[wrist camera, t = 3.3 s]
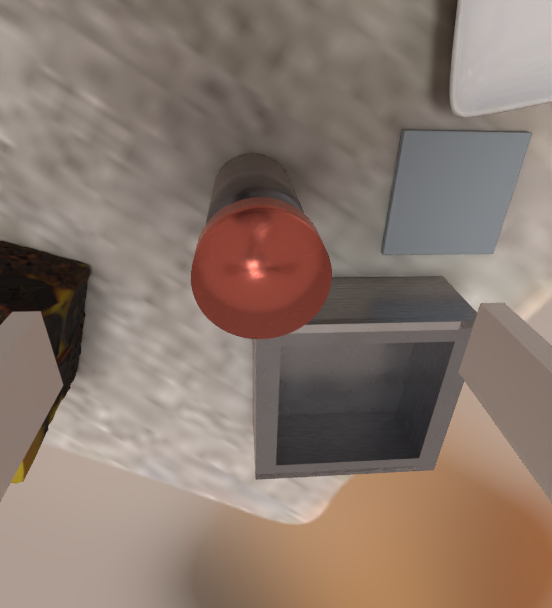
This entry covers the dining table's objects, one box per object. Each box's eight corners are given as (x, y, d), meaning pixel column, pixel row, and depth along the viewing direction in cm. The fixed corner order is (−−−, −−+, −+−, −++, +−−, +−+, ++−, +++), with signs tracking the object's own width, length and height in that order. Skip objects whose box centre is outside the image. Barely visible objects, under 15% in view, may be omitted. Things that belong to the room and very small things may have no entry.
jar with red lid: (212, 234, 27) (196, 340, 17) (207, 149, 24) (185, 213, 14) (292, 234, 28) (325, 337, 17) (297, 150, 25) (338, 213, 15)
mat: (381, 251, 29) (383, 254, 28) (401, 129, 25) (404, 130, 24) (489, 251, 30) (493, 254, 29) (527, 131, 25) (532, 132, 25)
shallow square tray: (253, 419, 36) (255, 479, 31) (252, 278, 29) (256, 326, 24) (406, 413, 37) (433, 470, 32) (442, 276, 30) (484, 320, 25)
